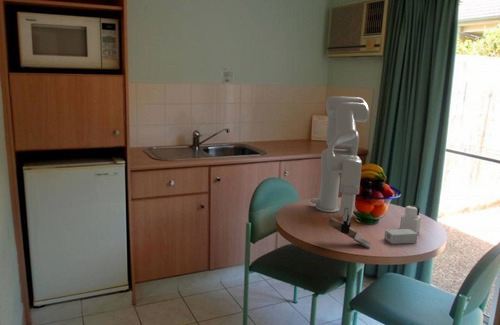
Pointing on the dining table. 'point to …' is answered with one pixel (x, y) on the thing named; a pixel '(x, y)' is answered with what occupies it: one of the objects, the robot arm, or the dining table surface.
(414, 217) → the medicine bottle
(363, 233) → the dining table surface
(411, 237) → the skincare box
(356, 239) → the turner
